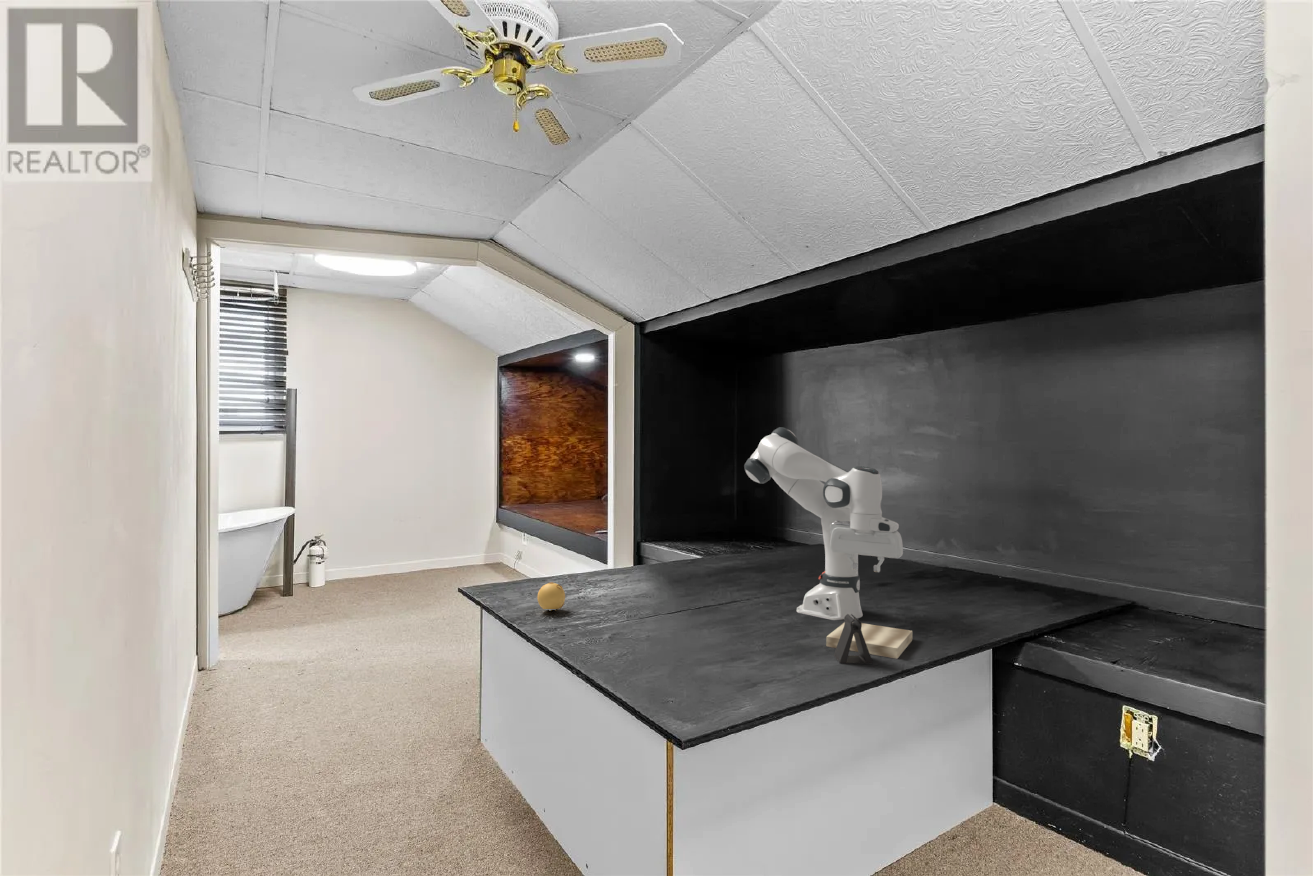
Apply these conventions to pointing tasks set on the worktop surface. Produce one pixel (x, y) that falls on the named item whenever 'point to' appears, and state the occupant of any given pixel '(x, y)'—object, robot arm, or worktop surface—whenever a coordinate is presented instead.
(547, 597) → the stress ball
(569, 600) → the worktop surface
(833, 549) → the robot arm
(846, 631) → the phone stand
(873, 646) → the birch plinth
